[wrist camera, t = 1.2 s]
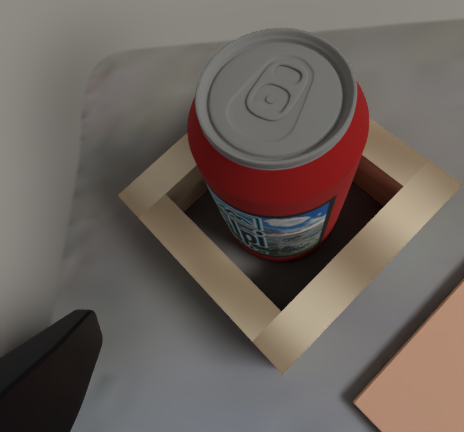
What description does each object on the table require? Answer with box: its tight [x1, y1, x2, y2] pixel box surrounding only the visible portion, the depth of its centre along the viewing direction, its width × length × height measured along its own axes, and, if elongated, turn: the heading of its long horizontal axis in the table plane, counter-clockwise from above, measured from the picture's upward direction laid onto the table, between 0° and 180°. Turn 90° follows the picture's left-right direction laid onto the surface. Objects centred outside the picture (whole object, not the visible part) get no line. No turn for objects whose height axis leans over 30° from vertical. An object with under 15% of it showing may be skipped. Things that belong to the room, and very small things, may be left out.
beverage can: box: [187, 28, 369, 261], centre depth 18 cm, size 7×7×12 cm
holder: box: [118, 118, 463, 375], centre depth 22 cm, size 13×13×4 cm
